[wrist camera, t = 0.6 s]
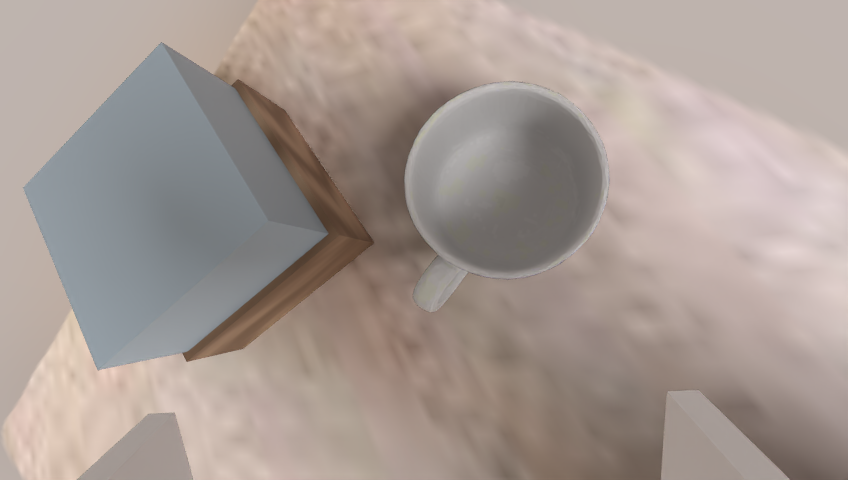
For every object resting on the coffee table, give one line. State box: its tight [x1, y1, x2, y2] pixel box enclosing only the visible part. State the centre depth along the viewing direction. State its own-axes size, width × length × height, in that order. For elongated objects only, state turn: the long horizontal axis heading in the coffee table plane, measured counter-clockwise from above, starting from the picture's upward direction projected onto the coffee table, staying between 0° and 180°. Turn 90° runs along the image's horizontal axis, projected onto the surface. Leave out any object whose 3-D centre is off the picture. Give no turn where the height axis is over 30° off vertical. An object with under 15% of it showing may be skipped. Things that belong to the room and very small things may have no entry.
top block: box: [23, 42, 329, 370], centre depth 26 cm, size 14×14×6 cm
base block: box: [183, 80, 374, 362], centre depth 32 cm, size 15×15×6 cm
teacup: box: [404, 81, 610, 312], centre depth 25 cm, size 14×11×8 cm
